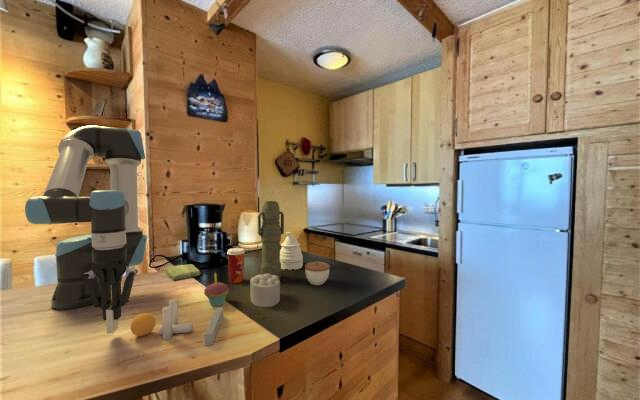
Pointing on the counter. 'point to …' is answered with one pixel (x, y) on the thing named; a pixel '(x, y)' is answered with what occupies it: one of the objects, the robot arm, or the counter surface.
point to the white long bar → (213, 326)
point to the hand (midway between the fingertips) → (112, 330)
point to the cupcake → (216, 292)
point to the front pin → (179, 328)
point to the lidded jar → (317, 272)
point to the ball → (143, 324)
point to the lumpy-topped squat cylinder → (265, 290)
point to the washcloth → (182, 271)
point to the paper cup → (236, 264)
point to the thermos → (271, 237)
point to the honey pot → (291, 253)
